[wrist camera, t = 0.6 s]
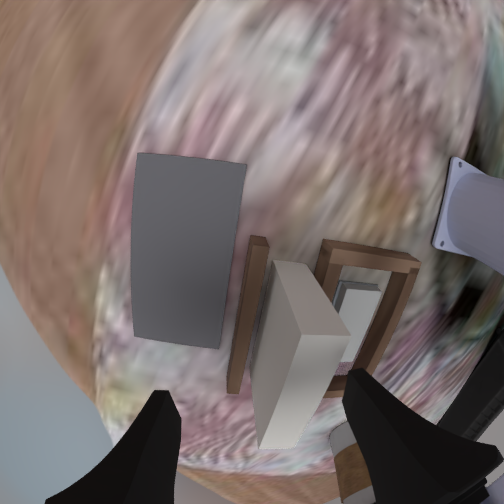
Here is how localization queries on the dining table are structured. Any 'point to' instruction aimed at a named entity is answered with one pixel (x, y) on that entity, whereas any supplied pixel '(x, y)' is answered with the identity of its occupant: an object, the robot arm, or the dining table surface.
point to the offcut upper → (356, 313)
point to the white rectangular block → (293, 354)
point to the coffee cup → (350, 467)
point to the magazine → (479, 396)
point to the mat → (182, 246)
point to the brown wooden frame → (327, 277)
